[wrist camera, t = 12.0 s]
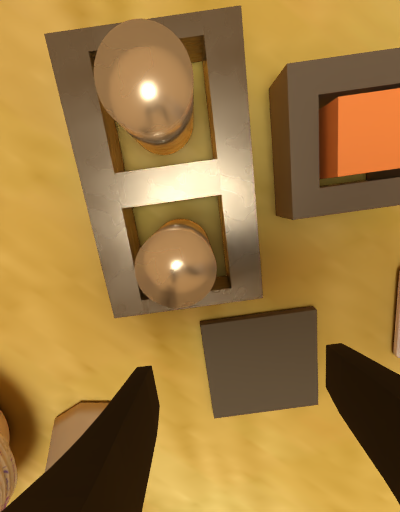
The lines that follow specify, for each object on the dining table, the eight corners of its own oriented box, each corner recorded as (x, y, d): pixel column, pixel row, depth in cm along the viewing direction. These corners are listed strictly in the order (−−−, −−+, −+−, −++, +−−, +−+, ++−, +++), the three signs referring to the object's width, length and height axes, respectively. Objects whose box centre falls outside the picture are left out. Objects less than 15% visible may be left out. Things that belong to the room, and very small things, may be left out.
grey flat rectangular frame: (232, 37, 15) (240, 5, 12) (253, 284, 18) (263, 297, 16) (69, 60, 15) (44, 33, 12) (124, 302, 19) (114, 318, 16)
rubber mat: (312, 306, 19) (316, 309, 18) (314, 398, 21) (318, 404, 21) (200, 321, 19) (200, 325, 19) (213, 412, 21) (214, 418, 21)
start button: (371, 107, 15) (414, 85, 12) (369, 171, 16) (408, 166, 13) (309, 115, 15) (338, 96, 12) (311, 180, 16) (337, 176, 13)
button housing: (395, 70, 15) (443, 41, 12) (387, 199, 17) (427, 201, 14) (269, 88, 15) (286, 63, 12) (276, 215, 17) (292, 219, 14)
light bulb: (188, 82, 15) (185, 11, 9) (197, 150, 16) (199, 125, 10) (125, 91, 15) (82, 26, 9) (137, 158, 16) (106, 138, 10)
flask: (42, 410, 21) (-88, 596, 11) (121, 388, 21) (58, 561, 11) (76, 470, 23) (-11, 675, 13) (149, 451, 22) (116, 647, 13)
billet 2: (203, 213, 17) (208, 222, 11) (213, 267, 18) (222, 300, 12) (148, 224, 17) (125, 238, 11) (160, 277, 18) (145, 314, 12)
